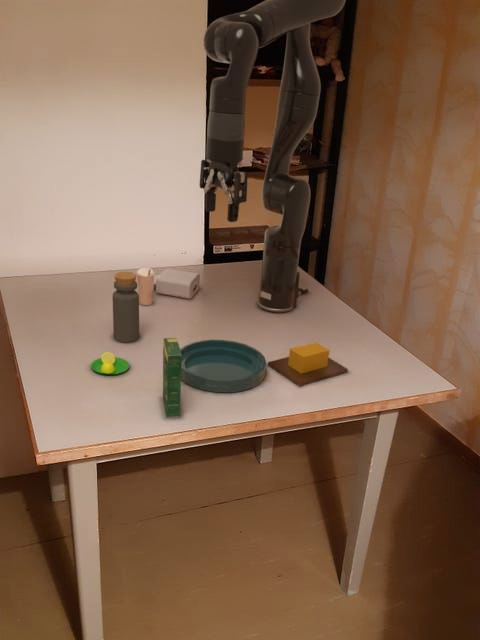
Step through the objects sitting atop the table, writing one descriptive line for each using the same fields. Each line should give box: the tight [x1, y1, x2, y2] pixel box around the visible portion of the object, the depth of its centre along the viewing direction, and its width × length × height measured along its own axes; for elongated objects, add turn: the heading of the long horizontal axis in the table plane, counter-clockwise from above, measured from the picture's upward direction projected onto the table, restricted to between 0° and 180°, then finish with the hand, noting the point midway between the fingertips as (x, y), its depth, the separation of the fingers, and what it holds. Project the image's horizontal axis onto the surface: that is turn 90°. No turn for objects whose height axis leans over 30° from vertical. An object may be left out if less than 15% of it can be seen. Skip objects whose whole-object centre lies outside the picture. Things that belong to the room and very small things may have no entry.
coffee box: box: [162, 337, 182, 419], centre depth 126 cm, size 8×3×13 cm, turn 10°
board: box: [267, 356, 349, 387], centre depth 148 cm, size 14×11×1 cm
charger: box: [154, 268, 201, 300], centre depth 181 cm, size 5×9×15 cm
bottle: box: [112, 271, 140, 344], centre depth 151 cm, size 6×6×15 cm
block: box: [288, 341, 330, 374], centre depth 147 cm, size 8×5×4 cm, turn 125°
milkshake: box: [136, 267, 156, 306], centre depth 170 cm, size 4×5×10 cm
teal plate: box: [180, 339, 267, 393], centre depth 143 cm, size 19×19×3 cm
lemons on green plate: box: [90, 351, 130, 375], centre depth 141 cm, size 8×8×3 cm
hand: (220, 216), depth 144 cm, fingers open, 8 cm apart
